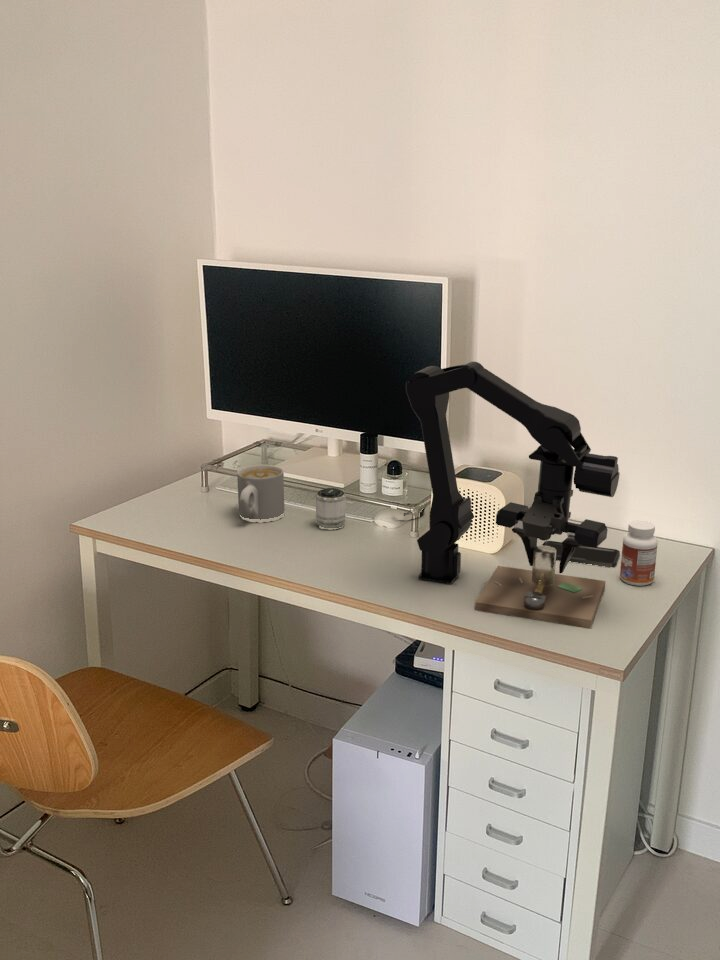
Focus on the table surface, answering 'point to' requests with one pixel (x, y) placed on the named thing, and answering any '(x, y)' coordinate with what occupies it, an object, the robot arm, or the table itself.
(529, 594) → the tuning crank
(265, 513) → the coffee mug
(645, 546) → the pill bottle
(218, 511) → the table surface
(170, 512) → the table surface
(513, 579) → the wooden serving board
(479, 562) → the table surface
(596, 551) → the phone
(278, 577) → the table surface
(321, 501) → the glass jar
